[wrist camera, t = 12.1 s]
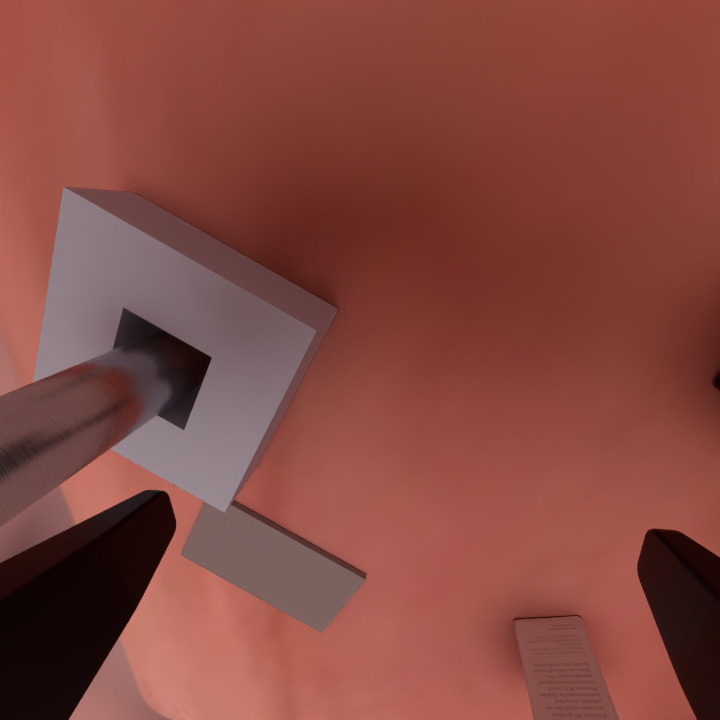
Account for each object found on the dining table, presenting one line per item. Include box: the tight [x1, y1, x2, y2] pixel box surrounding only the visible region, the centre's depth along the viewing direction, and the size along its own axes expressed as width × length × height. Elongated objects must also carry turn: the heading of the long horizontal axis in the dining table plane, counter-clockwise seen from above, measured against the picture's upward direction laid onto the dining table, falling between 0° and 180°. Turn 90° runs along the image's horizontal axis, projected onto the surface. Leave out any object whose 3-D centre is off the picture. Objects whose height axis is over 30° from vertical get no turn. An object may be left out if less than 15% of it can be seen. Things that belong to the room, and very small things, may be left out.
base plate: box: [181, 501, 366, 633], centre depth 27 cm, size 12×7×1 cm, turn 62°
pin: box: [0, 329, 212, 527], centre depth 16 cm, size 3×3×12 cm
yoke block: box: [33, 187, 338, 513], centre depth 20 cm, size 12×12×4 cm
